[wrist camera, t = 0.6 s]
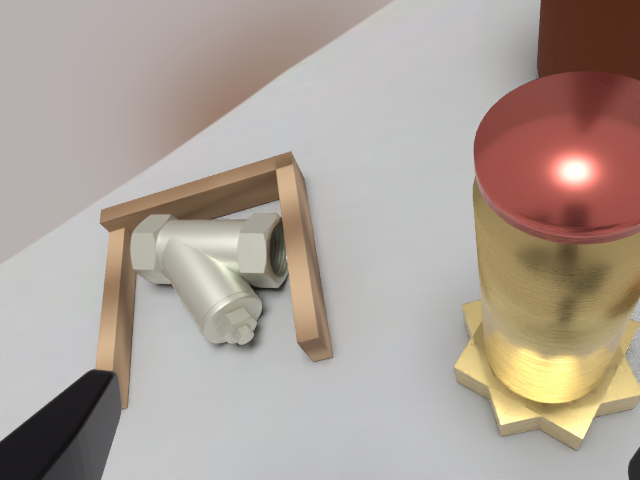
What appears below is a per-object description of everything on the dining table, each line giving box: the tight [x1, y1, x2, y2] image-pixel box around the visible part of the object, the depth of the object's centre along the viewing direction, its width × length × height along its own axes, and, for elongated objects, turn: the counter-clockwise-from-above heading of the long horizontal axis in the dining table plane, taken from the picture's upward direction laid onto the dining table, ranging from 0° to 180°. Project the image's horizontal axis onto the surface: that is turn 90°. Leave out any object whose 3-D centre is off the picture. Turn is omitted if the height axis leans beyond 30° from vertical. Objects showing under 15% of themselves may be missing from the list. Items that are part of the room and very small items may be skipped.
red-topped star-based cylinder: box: [454, 71, 640, 451], centre depth 18 cm, size 7×7×14 cm
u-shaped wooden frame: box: [96, 152, 333, 409], centre depth 29 cm, size 12×12×2 cm
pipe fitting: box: [130, 213, 289, 345], centre depth 29 cm, size 8×4×7 cm
